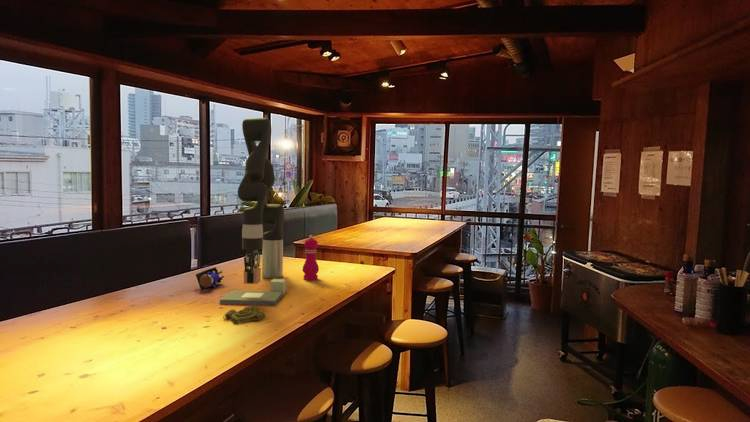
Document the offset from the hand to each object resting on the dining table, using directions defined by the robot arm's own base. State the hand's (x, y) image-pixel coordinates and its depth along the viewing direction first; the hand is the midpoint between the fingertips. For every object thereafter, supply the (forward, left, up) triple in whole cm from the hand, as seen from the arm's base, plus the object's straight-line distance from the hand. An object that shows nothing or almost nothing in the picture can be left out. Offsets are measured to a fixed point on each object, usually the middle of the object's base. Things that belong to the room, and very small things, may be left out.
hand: (252, 281), depth 184 cm
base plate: (0, 0, -7) cm, 7 cm away
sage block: (-12, +7, -7) cm, 16 cm away
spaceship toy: (+21, +4, -8) cm, 22 cm away
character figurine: (-18, -22, -7) cm, 29 cm away
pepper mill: (-38, +16, -7) cm, 42 cm away
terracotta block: (0, 0, 0) cm, 0 cm away
